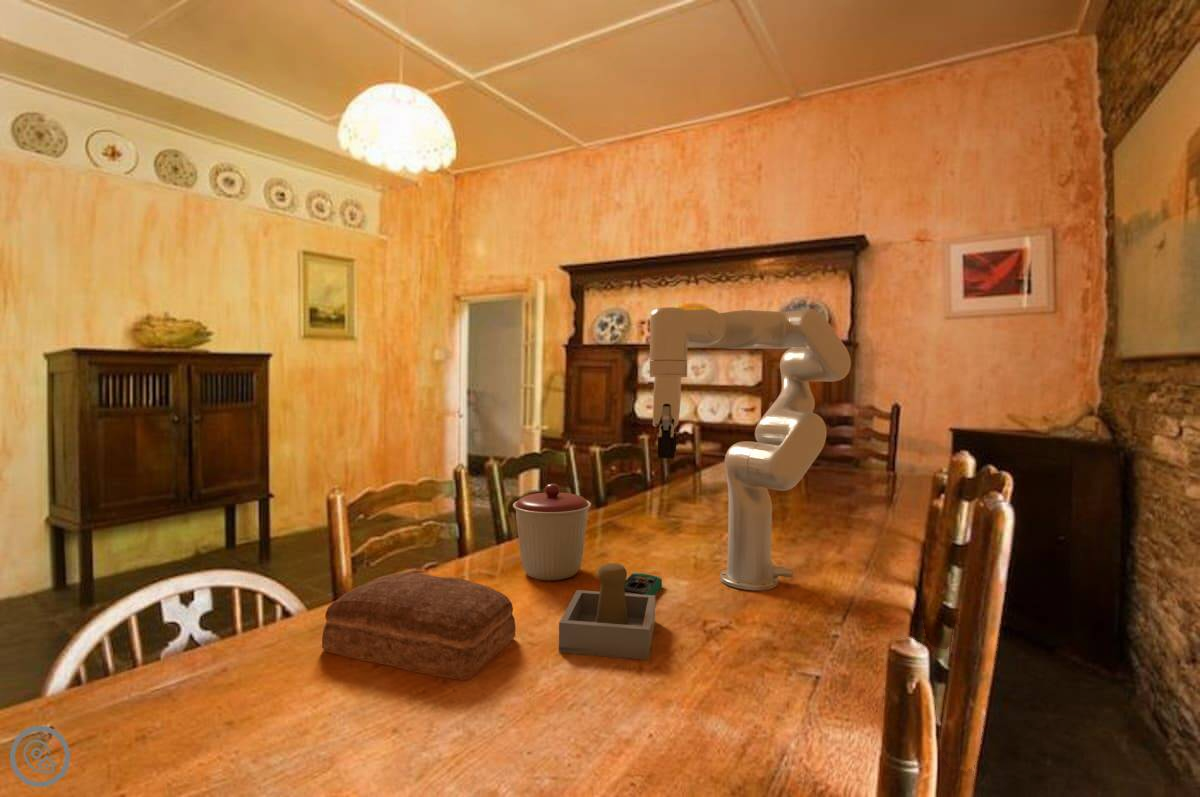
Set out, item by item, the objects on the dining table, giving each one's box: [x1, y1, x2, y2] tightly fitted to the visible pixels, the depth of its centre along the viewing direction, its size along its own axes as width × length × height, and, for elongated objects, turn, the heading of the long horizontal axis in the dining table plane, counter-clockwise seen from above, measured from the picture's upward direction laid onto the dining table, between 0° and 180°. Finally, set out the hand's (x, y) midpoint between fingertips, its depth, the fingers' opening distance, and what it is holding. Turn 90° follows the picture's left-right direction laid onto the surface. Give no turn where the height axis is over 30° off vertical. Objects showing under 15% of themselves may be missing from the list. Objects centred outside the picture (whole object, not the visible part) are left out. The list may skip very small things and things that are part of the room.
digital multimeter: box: [624, 572, 663, 596], centre depth 122 cm, size 7×15×3 cm, turn 159°
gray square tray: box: [558, 589, 656, 661], centre depth 102 cm, size 15×15×5 cm
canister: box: [512, 483, 592, 581], centre depth 134 cm, size 18×18×21 cm
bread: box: [321, 571, 517, 681], centre depth 98 cm, size 17×29×11 cm, turn 70°
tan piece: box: [596, 562, 629, 625], centre depth 104 cm, size 6×6×11 cm
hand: (667, 454), depth 117 cm, fingers open, 9 cm apart
